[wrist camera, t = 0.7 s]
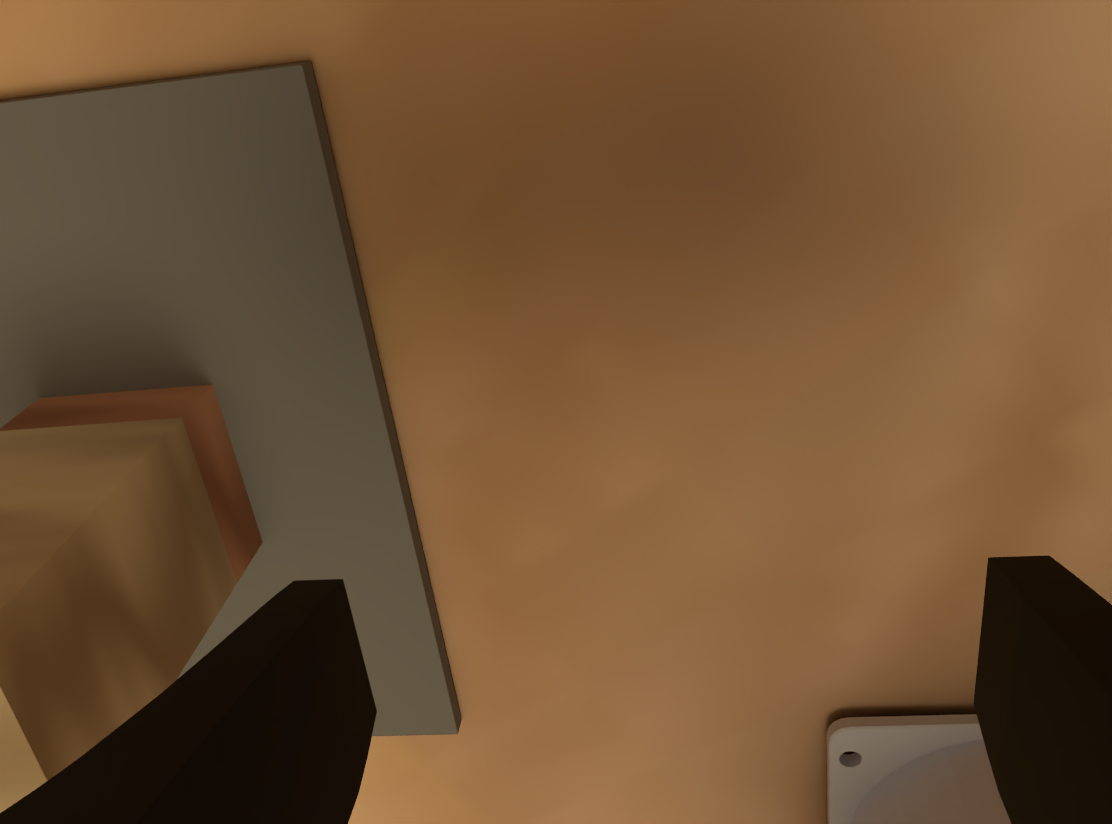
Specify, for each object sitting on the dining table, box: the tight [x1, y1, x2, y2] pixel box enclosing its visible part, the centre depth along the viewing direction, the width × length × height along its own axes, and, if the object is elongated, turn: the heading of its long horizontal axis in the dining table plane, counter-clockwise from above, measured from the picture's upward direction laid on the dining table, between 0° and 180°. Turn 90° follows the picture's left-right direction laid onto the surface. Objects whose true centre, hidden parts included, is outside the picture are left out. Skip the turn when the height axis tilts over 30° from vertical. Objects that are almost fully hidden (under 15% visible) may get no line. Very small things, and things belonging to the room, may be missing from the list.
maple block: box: [0, 384, 263, 813], centre depth 18 cm, size 4×4×8 cm
